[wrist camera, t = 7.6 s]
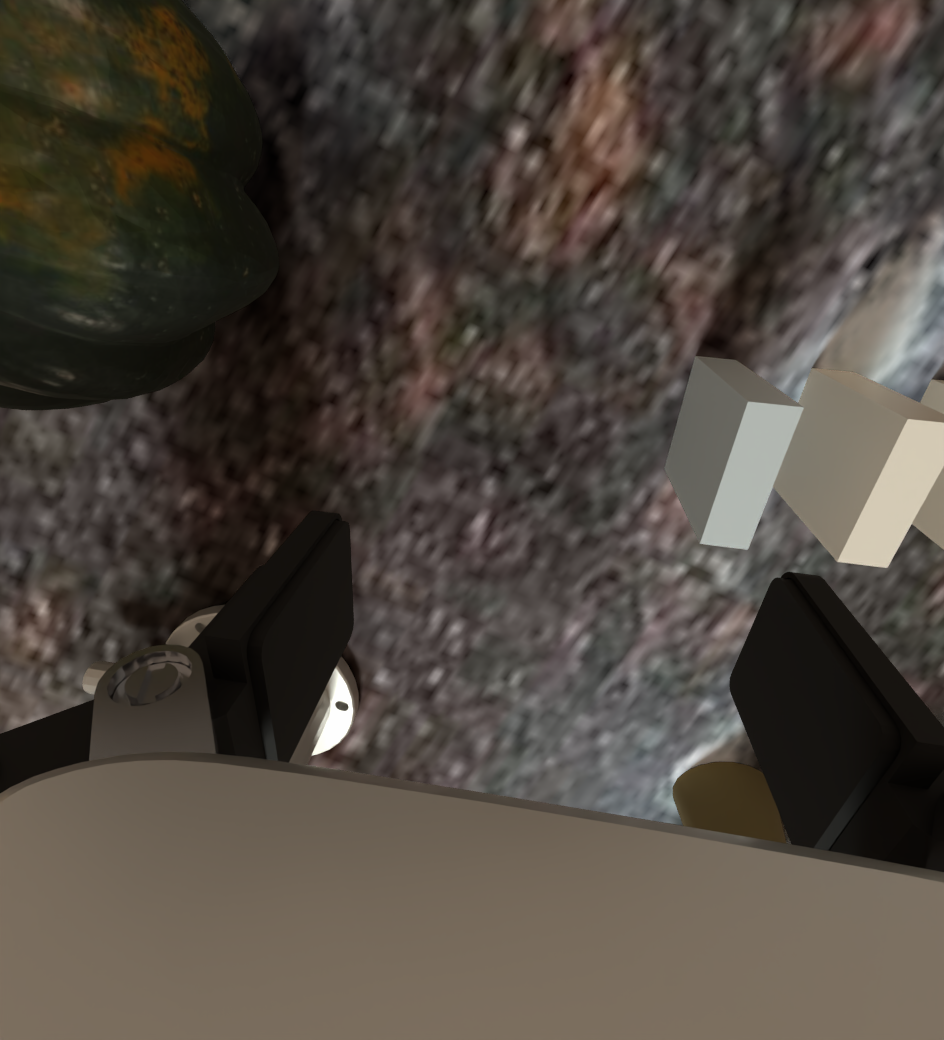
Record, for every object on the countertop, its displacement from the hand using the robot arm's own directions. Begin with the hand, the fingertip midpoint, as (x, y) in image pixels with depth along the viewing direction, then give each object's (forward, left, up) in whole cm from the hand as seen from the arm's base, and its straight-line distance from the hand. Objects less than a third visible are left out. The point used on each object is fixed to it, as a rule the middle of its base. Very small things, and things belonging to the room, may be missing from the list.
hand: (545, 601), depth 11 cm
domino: (+11, 0, -14) cm, 18 cm away
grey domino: (+6, 0, -14) cm, 15 cm away
